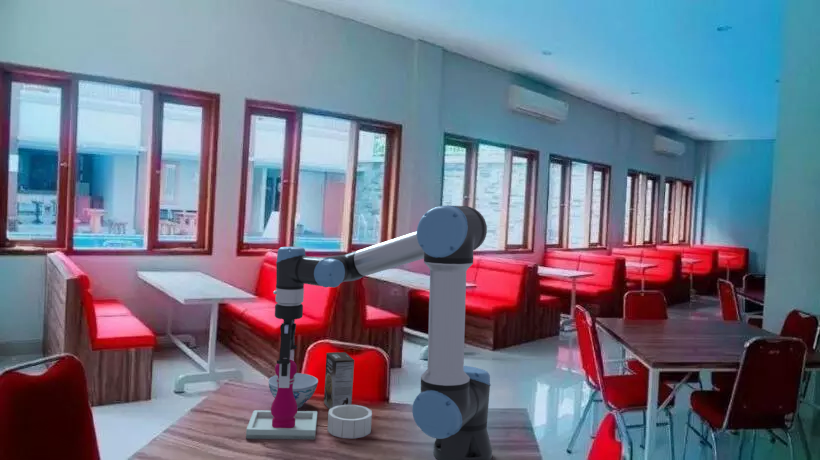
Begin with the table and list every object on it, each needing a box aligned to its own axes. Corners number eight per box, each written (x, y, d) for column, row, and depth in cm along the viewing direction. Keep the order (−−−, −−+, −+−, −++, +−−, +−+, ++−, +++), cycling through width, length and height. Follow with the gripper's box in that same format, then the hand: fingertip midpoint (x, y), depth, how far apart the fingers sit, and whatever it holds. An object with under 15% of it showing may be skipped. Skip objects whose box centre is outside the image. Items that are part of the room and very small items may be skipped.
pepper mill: (290, 431, 163) (293, 358, 162) (265, 428, 164) (268, 355, 163) (300, 422, 170) (304, 352, 169) (277, 419, 171) (280, 349, 170)
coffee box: (323, 403, 189) (325, 352, 188) (342, 401, 192) (345, 351, 191) (331, 413, 181) (334, 360, 180) (352, 411, 184) (354, 359, 183)
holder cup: (378, 428, 172) (379, 410, 172) (355, 441, 161) (356, 423, 161) (344, 418, 177) (344, 401, 177) (319, 431, 167) (320, 413, 167)
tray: (316, 419, 175) (317, 411, 175) (314, 439, 161) (315, 430, 161) (253, 418, 173) (253, 410, 173) (245, 438, 159) (246, 429, 159)
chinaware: (297, 393, 197) (298, 370, 196) (326, 406, 186) (327, 382, 186) (257, 403, 186) (258, 378, 185) (286, 417, 175) (287, 391, 175)
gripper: (279, 295, 177) (277, 366, 178) (269, 311, 152) (266, 394, 153) (305, 296, 178) (302, 367, 179) (300, 312, 153) (296, 394, 154)
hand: (286, 379), depth 166 cm, fingers open, 13 cm apart
